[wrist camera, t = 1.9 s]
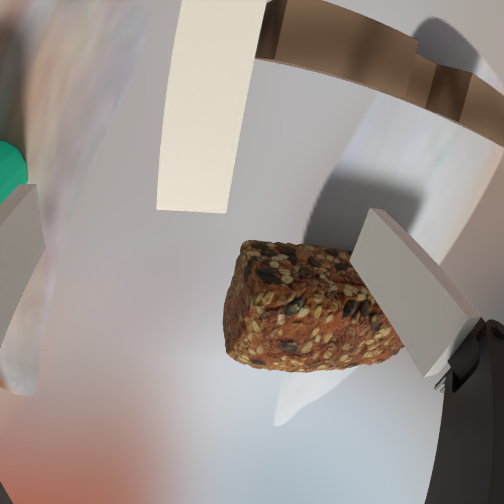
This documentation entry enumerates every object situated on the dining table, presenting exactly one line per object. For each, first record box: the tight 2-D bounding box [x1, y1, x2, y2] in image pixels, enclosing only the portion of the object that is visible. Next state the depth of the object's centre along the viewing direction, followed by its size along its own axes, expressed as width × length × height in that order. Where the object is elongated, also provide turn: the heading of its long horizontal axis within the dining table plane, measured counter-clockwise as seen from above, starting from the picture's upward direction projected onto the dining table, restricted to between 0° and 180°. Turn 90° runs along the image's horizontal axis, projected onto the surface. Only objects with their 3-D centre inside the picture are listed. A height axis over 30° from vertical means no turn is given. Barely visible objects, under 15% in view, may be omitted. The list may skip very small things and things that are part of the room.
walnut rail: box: [254, 0, 504, 147], centre depth 19 cm, size 4×22×8 cm, turn 79°
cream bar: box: [157, 0, 267, 213], centre depth 17 cm, size 16×4×8 cm, turn 169°
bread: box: [223, 240, 405, 373], centre depth 31 cm, size 19×11×10 cm, turn 74°
